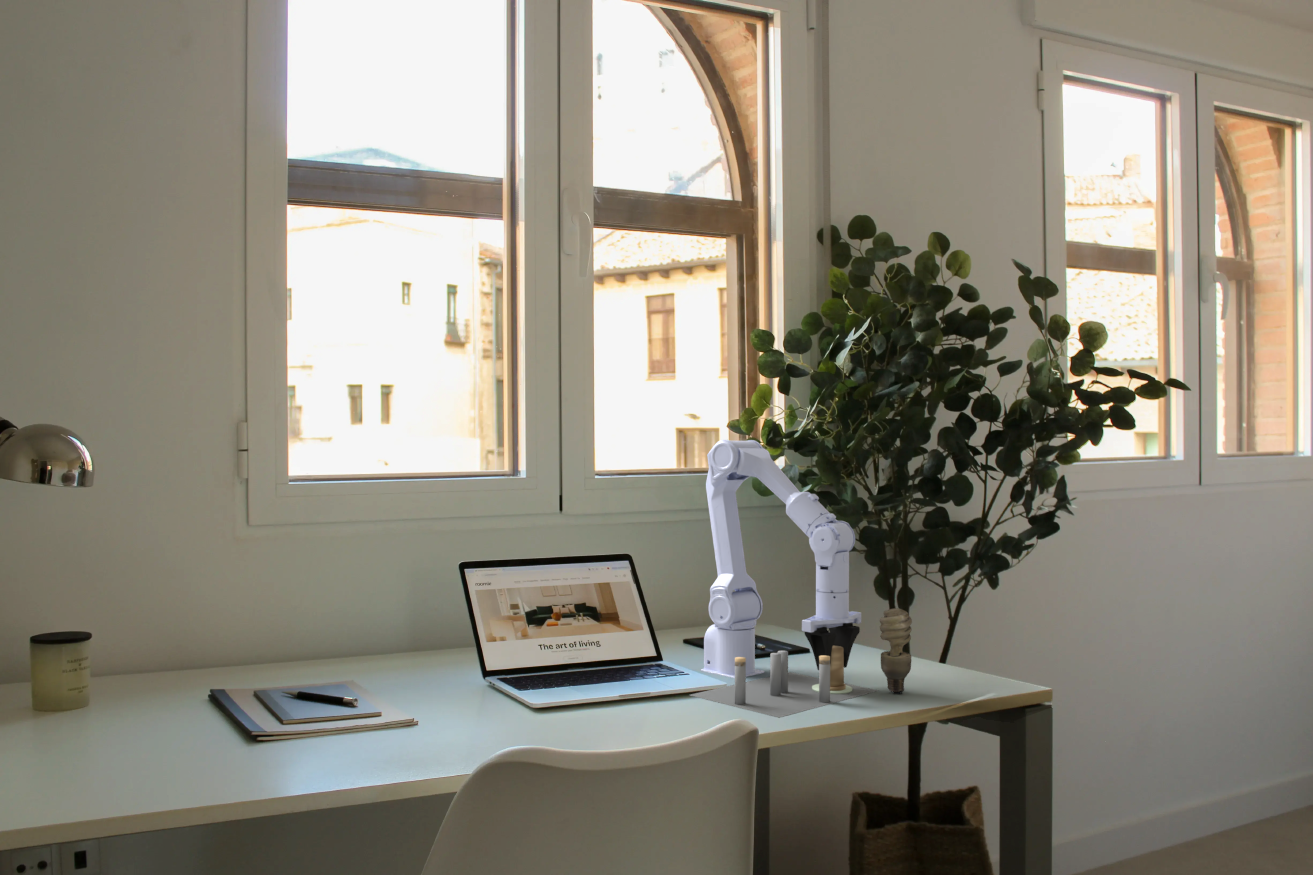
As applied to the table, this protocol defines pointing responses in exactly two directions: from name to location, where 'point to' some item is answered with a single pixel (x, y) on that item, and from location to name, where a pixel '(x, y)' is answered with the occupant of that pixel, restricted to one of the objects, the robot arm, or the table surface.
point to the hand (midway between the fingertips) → (832, 668)
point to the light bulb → (896, 648)
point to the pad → (847, 690)
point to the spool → (837, 669)
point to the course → (780, 689)
